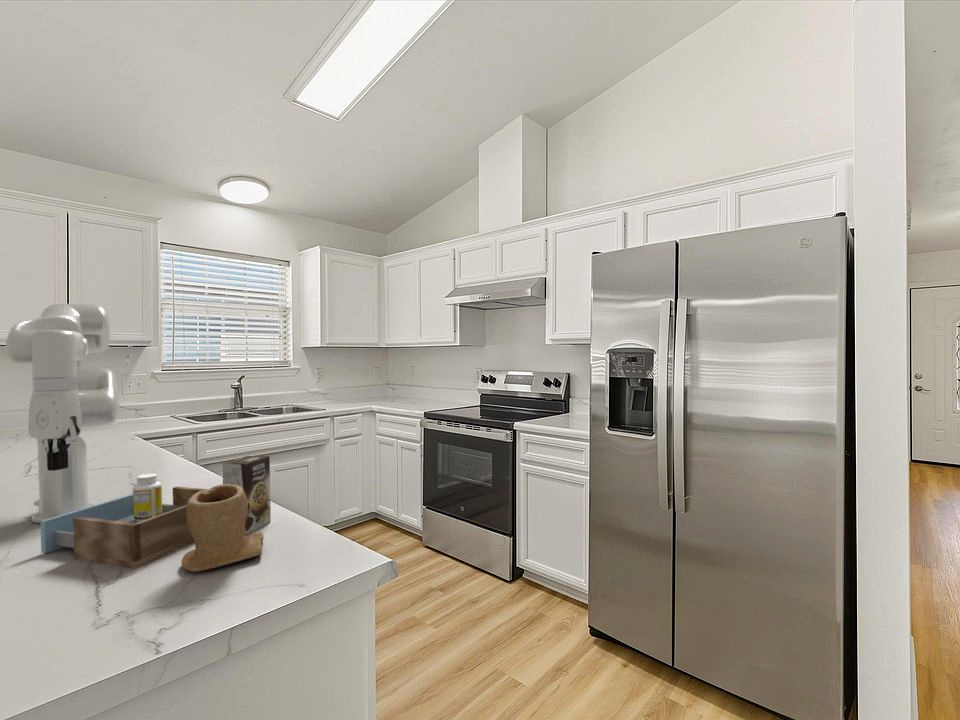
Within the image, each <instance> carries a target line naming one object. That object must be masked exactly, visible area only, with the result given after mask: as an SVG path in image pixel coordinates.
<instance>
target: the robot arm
mask: <svg viewBox="0 0 960 720" xmlns="http://www.w3.org/2000/svg"><path fill="white" fill-rule="evenodd" d="M110 325H111V321H110V317H109V315H108V313H107V311H106V310H105V308H103V307H102V306H100V305H99V304H87V303H86V304H81V303H55V304H51V305H49V306H47V307H46V308H44V309H43V311H42V312H41V315H40V317H37V318H33V319H29V320H24V321H20V322H18V323H16V324H14V325H13V326H12V327H11V328H10V330H9V332H8V334H7V337H6V341H5V352H6V355H7V357H8V358H9V360H10V361H12V362H14V363H16V364H21V365H23V364H24V365H26V364H27V365H28V364H31V373H32V374H31V375H32V376H31V377H32V392H31V396H30V401H29V406H28V407H29V408H28V424H27V425H28V436H29V437H30V438H33V439H36V443H37V444H36V445H37V459H38V460H37V461H38V462H37V463H38V466H37V467H38V490H39V491H38V492H39V493H38V496H39V498H38V499H37V500H35V501H33V506H34V507H38V511H37V512H35V513H33V514H32V515H31V517H30V518H31V522H33V523H35V524H40V521H42V520H45V519H49V518H52V517H55V516H59V515H62V514H65V513H69V512H72V511H76V510H79V509H82V508H86V507H89V506H92V505H95V504H94V503H89V489H88V488H89V487H88V486H89V485H88V484H89V483H88V453H87V452H88V451H87V444H86V441H85V440H84V438H82V436H81V433H82V428H89V427H90V428H91V427H101V426H107V425H111V424H113V423H115V422H116V421H117V419H118V418H119V416H120V415H119V414H120V398H119V390H118V389H119V388H118V382H117V377H116V375H115V373H114V372H113V371H112V370H110V369H108V368H103V367H102V368H99V367H97V368H96V367H95V368H91V367H90V368H84V365H82V363H81V362H80V361H82V360H84V358H85V357H86V356H87V355H88V354H97V353H104V352H106V351H107V350H108V349H109V347H110V343H111V341H110V340H111V326H110Z"/></svg>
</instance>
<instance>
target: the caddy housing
mask: <svg viewBox="0 0 960 720" xmlns="http://www.w3.org/2000/svg"><path fill="white" fill-rule="evenodd" d="M208 489H209V488H197V487H189V486H188V487H187V486H174V487H172V505H180V506H182V507H179V508H176V509H173V510H171V511H168V512H165V513H162V514H159V515H157V516H154V517H151V518H148V519H145V520H143V521H140V522H137V523H130V522H121V521H113V520H104V519H96V518H87V517H77V518H73V529H74V548H73V552H74V553H73V556H74V558H73V560H78V561H82V562H91V563H98V564H103V565H104V564H105V565H110V566H111V565H112V566H117V567H124V568H131V569H137V568H139V567H141V566H144V565H146V564H148V563H151V562H153V561H155V560H157V559H159V558H162V557H163V556H167V555H168V554H171V553H173V552H175V551H178V550H179V549H182V548H184V547H186V546H188V545H191V544H193V543H195V541H194V538H193V536H192V534H191V532H190V530H189V527H188V524H187V515H186V505H187V502H188V500H189V499H190V498H191V497H192V496H193V495H194V494H196V493H197V492H199V491H202V490H208Z"/></svg>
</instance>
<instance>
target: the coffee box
mask: <svg viewBox="0 0 960 720" xmlns="http://www.w3.org/2000/svg"><path fill="white" fill-rule="evenodd" d="M270 458H271V457H270V455H245V456H243V457H239V458H236V459H233V460H230V461H229V460H228V461H226V462H223V463H222V485H224V484H233V485H238V486H240V487H242V488H243V490H244V492H245V494H246V497H247V501H248V508H247V515H246V521H245V527H244V536H247V535H250V534H251V533H253V532H255V531H257V530H258V529H260V528H262V527H264V526H265V525H267V524H269V523H271V521H272V519H271V518H272V517H271V516H272V515H271V513H272V512H271V470H270V469H271V464H270V462H271V460H270Z"/></svg>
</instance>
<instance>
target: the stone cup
mask: <svg viewBox="0 0 960 720" xmlns="http://www.w3.org/2000/svg"><path fill="white" fill-rule="evenodd" d="M207 489H208V490H202V491H199V492H197V493H196V494H194V495H193V496H192V497H191V498H190V499H189V500H188V502H187V505H186V515H187V524H188V527H189V530H190V532H191V534H192V536H193V538H194V541H195V542H194V545H195V548H194V549H192V550H189V551H187V552H186V553H185V554H183V557H182V559H181V566H182V567H183V568H184V569H185V570H187V571H189V572H202V571H208V570H211V569H215V568H219V567H222V566H227V565H230V564H233V563H234V564H235V563H238V562H240V561H243V560H244V561H245V560H248V559H251V558H254V557H258V556H261V555H262V554H263V545H264V533H263V532H262V531H261V532H257V533H253V534H248V535H244V527H245V521H246V515H247V508H248V501H247V497H246V494H245V492H244V490H243V488H242V487H240V486H238V485H233V484H224V485H223V484H217V485H215V486H212V487H211V488H207Z"/></svg>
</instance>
